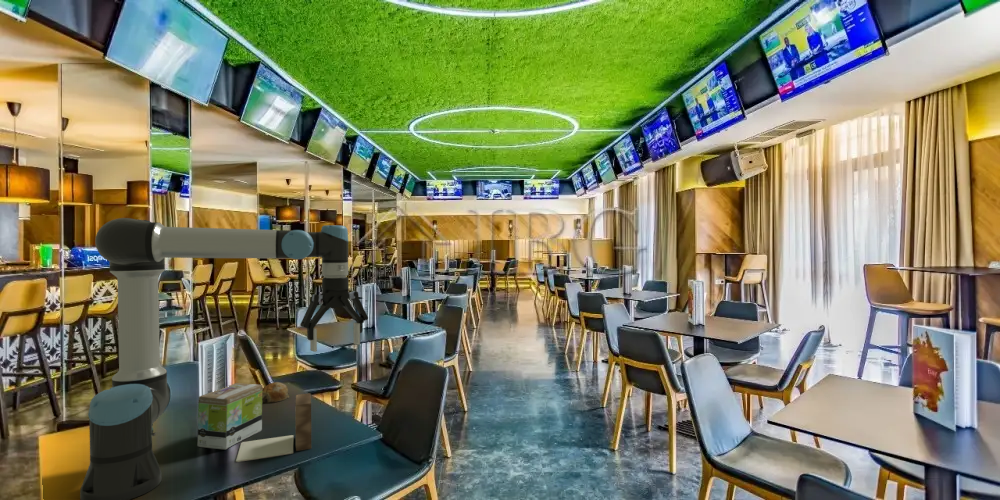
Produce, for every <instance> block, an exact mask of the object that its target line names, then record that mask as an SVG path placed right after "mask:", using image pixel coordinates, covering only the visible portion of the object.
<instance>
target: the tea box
mask: <svg viewBox="0 0 1000 500" xmlns="http://www.w3.org/2000/svg"><path fill="white" fill-rule="evenodd" d="M228 386H229V387H227V386H224V387H225V388H224V387H222V389H221V388H219V389H220V390H219V389H217V391H216V390H213V391H214V392H213V391H211V392H208V393H205V394H202V395H199V396H198V402H197V403H198V404H197V405H198V406H197V407H198V408H197V410H198V411H197V413H198V414H197V447H200V448H207V449H213V450H214V449H215V450H216V449H217V450H227V449H229V448H231V447H232V446H235V444H238V443H240V442H243V441H244V440H246V439H249V437H252V436H254V435H256V434H258V433H260V432H261V431H262V430H263V402H262V390H263V384H255V383H253V384H252V383H242V382H235V383H232V384H230V385H228Z"/></svg>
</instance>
